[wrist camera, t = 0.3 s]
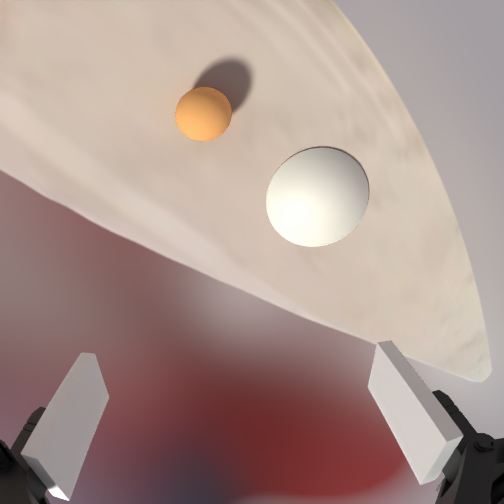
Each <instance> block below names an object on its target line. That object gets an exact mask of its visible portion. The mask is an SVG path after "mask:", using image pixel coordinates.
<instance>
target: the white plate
mask: <svg viewBox="0 0 504 504" xmlns="http://www.w3.org/2000/svg"><path fill="white" fill-rule="evenodd" d="M368 198H369V188H368V182H367V178H366V176H365V173H364V171H363V170H362V168H361V167H360V165H359V164H358V163H357V162H356V161H355V160H354V159H353V158H352V157H350V156H349V155H347V154H345V153H343V152H341V151H339V150H335V149H331V148H313V149H308V150H305V151H302V152H300V153H297V154H296V155H294V156H292V157H291V158H289V159H288V160H287V161H285V162H284V163H283V164H282V165H281V166H280V167H279V169H278V170H277V171H276V172H275V174H274V176H273V177H272V179H271V182H270V184H269V187H268V190H267V196H266V207H267V213H268V216H269V219H270V221H271V223H272V225H273V227H274V228H275V229H276V231H277V232H278V233H279V234H280V235H281V236H283V237H284V238H285V239H287V240H289V241H290V242H293V243H295V244H298V245H302V246H310V247H315V246H323V245H327V244H331V243H333V242H336V241H338V240H340V239H341V238H343V237H345V236H346V235H347V234H349V233H350V232H351V231H352V230H353V229H354V228H355V227H356V226H357V224H358V223H359V222H360V220H361V219H362V217H363V215H364V213H365V210H366V208H367V204H368Z"/></svg>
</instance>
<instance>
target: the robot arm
mask: <svg viewBox="0 0 504 504" xmlns="http://www.w3.org/2000/svg"><path fill="white" fill-rule="evenodd" d="M368 388H369V390H370V392H371V394H372V396H373V397H374V399H375V401H376V403H377V405H378V406H379V408H380V410H381V412H382V414H383V416H384V417H385V419H386V421H387V423H388V425H389V427H390V428H391V430H392V432H393V434H394V436H395V438H396V440H397V442H398V443H399V445H400V447H401V449H402V451H403V453H404V455H405V457H406V459H407V460H408V462H409V464H410V466H411V468H412V470H413V472H414V474H415V476H416V478H417V480H418V482H419V484H420V485H422V484H425V483H428V482H430V481H433V480H435V479H437V477H438V476H439V474H440V473H441V471H443V473H444V475H445V478H444V479H443V481H442V482H441V483H440V485H439V486H438V488H437V489H436V491H439V489H440V491H439V494H438V498H437V500H436V503H435V504H504V438H501V439H494V438H492V437H491V436H490V435H487V434H485V433H477V432H476V431H475V429H474V428H473V427H472V426H471V424H470V423H469V422H468V420H467V419H466V418H465V417H464V415H463V414H462V413H461V412H460V411H459V409H458V407H457V406H456V405H454V403H453V401H452V400H451V399H450V397H449V396H448V395H446V394H445V393H443V392H442V391H440V390H437V391H434V392H431V391H430V389H429V388H428V387H427V385H426V384H425V383H424V381H423V380H422V379H421V378H420V376H419V375H418V374H417V373H416V371H415V370H414V369H413V367H412V366H411V365H410V363H409V362H408V361H407V360H406V358H405V357H404V356H403V355H402V353H401V352H400V351H399V350H398V348H397V347H396V346H395V345H394V343H393V342H392V341H385V342H378V343H377V346H376V352H375V356H374V361H373V366H372V371H371V375H370V379H369V384H368ZM108 399H109V395H108V392H107V390H106V387H105V384H104V381H103V378H102V375H101V372H100V368H99V365H98V362H97V359H96V355H95V354H93V353H81V354H80V355H79V357H78V358H77V360H76V361H75V363H74V365H73V366H72V368H71V369H70V371H69V372H68V374H67V375H66V377H65V379H64V380H63V382H62V384H61V385H60V387H59V388H58V390H57V392H56V393H55V395H54V396H53V398H52V400H51V401H50V403H49V405H48V406H47V408H43V407H39V408H38V409H37V410H36V411H34V412H33V413H32V414H31V416H30V417H29V419H28V421H27V424H25V425H24V427H23V430H22V431H21V432H20V434H19V436H18V437H17V439H16V441H15V443H14V444H13V446H12V448H11V450H10V449H9V448H8V446H7V445H6V444H5V442H3V441H2V440H0V504H50V503H49V501H48V499H47V497H46V496H45V492H46V489H48V490H49V491H50V493H51V494H52V495H53V496H56V497H58V498H62V499H66V500H70V497H71V495H72V492H73V489H74V486H75V483H76V481H77V478H78V475H79V472H80V470H81V467H82V464H83V462H84V459H85V456H86V454H87V451H88V448H89V446H90V443H91V441H92V438H93V436H94V433H95V430H96V428H97V426H98V423H99V421H100V418H101V416H102V414H103V411H104V409H105V406H106V404H107V401H108Z"/></svg>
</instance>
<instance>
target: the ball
mask: <svg viewBox="0 0 504 504" xmlns="http://www.w3.org/2000/svg"><path fill="white" fill-rule="evenodd" d="M175 117H176V123H177V125H178V127H179V129H180V130H181V132H182V133H183V134H184V135H186V136H187V137H189V138H191V139H193V140H197V141H208V140H212V139H215V138H217V137H218V136H220V135H221V134H222V133H224V131H225V130H226V129H227V128H228V126H229V124H230V121H231V117H232V110H231V105H230V103H229V101H228V99H227V98H226V96H225V95H224V94H223V93H221V92H220V91H218V90H216V89H214V88H210V87H199V88H195V89H192V90H190V91H189V92H187V93H186V94H185V95H184V96H183V97H182V98H181V99H180V101H179V102H178V105H177V107H176V112H175Z"/></svg>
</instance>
